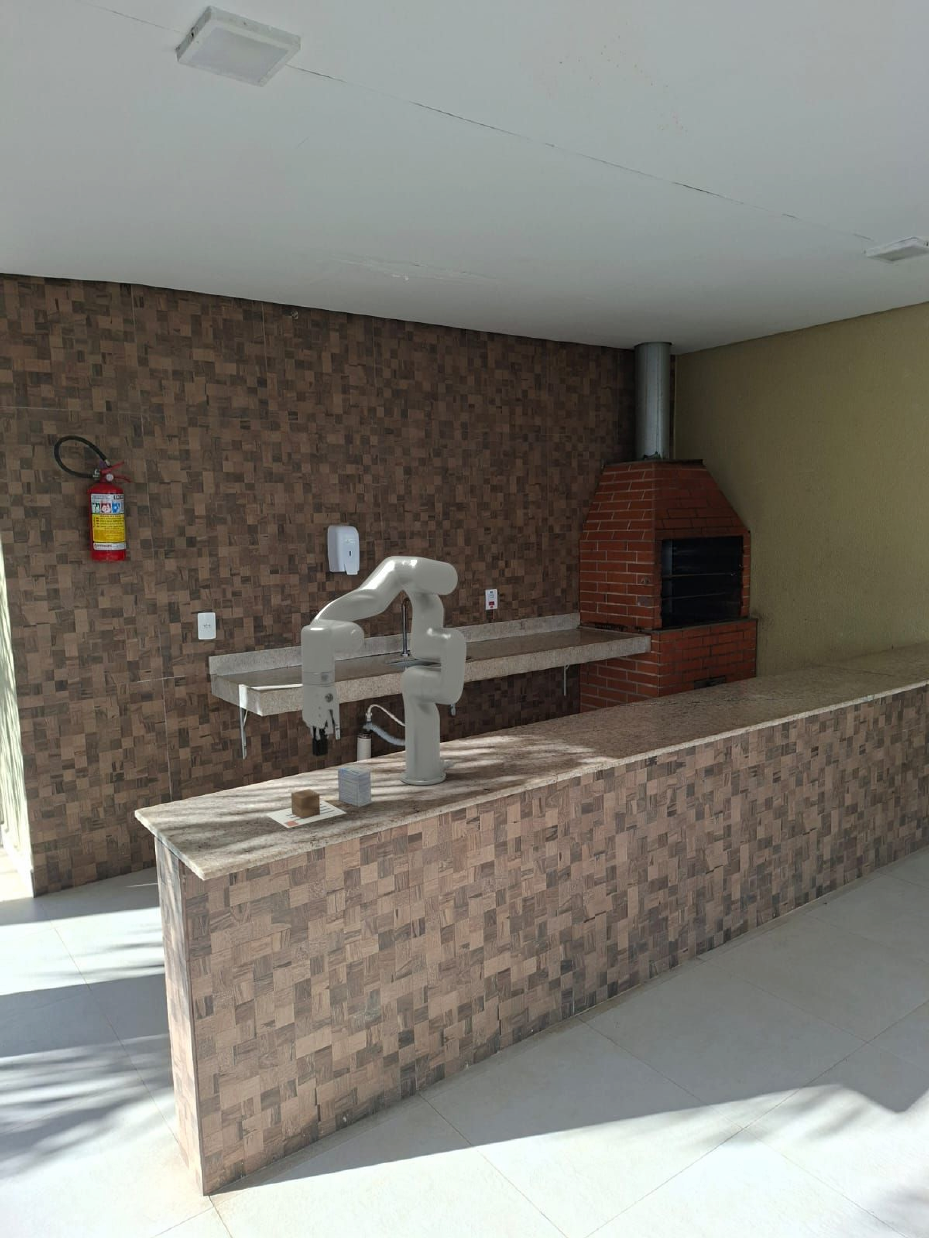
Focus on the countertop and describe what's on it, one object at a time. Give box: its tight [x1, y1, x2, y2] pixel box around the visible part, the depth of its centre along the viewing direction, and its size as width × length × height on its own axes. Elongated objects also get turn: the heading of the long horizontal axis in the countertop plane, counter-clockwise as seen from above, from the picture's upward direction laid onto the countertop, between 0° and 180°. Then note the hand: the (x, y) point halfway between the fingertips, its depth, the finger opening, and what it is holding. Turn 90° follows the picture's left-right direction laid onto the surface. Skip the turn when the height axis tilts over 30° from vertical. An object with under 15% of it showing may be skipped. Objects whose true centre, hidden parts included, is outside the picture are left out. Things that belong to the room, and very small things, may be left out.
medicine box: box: [337, 765, 372, 808], centre depth 222 cm, size 8×4×9 cm, turn 48°
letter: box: [264, 799, 347, 829], centre depth 214 cm, size 16×12×1 cm
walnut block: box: [290, 788, 321, 818], centre depth 214 cm, size 5×5×5 cm
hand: (320, 754), depth 206 cm, fingers closed
